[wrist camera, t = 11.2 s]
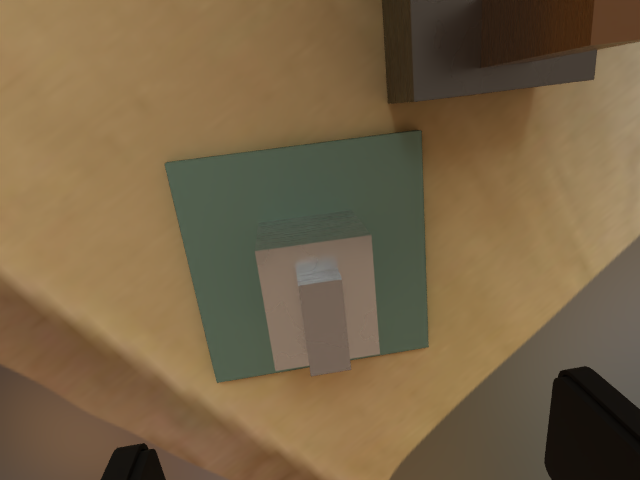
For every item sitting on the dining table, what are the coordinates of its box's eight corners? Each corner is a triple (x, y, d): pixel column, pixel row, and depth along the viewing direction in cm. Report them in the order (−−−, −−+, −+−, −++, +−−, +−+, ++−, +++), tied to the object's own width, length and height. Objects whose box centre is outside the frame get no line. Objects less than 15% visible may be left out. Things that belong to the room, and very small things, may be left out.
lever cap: (360, 309, 23) (386, 369, 18) (275, 322, 23) (275, 387, 17) (351, 210, 21) (378, 243, 16) (258, 222, 21) (253, 261, 16)
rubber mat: (167, 162, 20) (164, 163, 19) (417, 130, 21) (421, 130, 20) (218, 376, 24) (216, 382, 24) (424, 341, 25) (428, 347, 25)
